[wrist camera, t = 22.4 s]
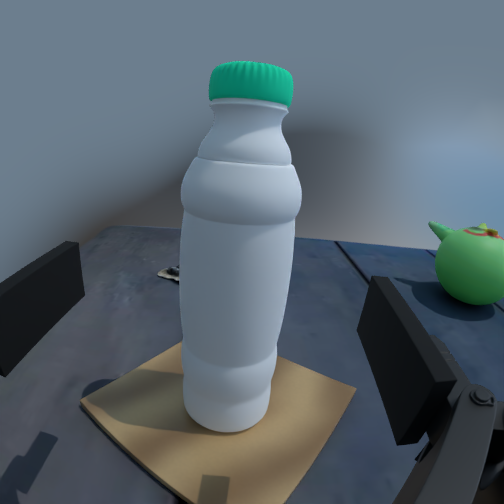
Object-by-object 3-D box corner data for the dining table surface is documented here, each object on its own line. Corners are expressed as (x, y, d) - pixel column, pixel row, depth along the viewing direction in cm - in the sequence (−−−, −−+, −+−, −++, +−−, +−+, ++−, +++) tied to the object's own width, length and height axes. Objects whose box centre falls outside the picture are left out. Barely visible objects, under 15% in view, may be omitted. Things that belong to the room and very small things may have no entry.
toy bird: (454, 322, 41) (483, 233, 36) (410, 277, 57) (427, 206, 52) (515, 317, 42) (540, 244, 37) (470, 280, 58) (488, 218, 53)
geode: (201, 288, 46) (201, 277, 45) (150, 282, 46) (149, 270, 45) (209, 270, 52) (209, 260, 52) (163, 265, 52) (163, 254, 52)
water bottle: (171, 388, 25) (174, 69, 17) (241, 369, 29) (269, 83, 20) (206, 447, 20) (225, 42, 11) (283, 417, 23) (341, 75, 15)
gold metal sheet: (81, 407, 22) (79, 399, 22) (210, 330, 36) (210, 323, 36) (252, 543, 13) (253, 539, 13) (354, 395, 27) (356, 388, 27)
